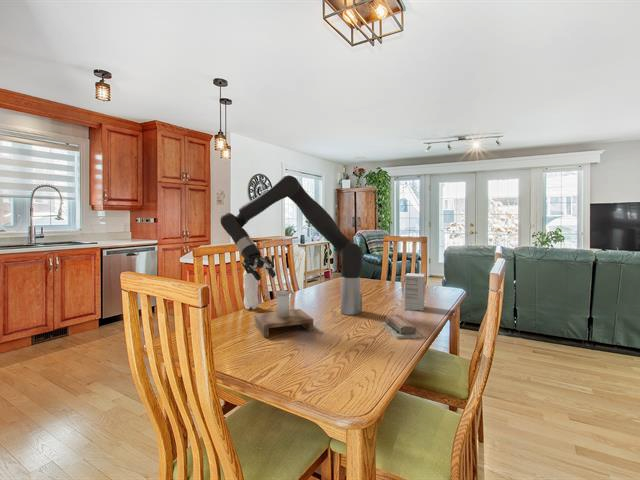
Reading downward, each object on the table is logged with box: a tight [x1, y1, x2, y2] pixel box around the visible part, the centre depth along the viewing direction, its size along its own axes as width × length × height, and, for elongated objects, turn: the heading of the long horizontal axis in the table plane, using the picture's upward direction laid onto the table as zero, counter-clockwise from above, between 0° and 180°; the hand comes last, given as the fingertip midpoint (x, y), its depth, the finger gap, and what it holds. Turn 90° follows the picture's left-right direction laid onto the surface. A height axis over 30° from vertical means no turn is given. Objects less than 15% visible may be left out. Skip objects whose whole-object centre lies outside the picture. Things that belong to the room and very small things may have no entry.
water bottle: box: [242, 265, 259, 310], centre depth 175 cm, size 7×7×25 cm
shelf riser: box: [254, 308, 314, 339], centre depth 144 cm, size 20×16×5 cm
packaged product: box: [381, 314, 422, 340], centre depth 141 cm, size 18×5×10 cm
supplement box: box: [403, 272, 426, 312], centre depth 174 cm, size 10×9×17 cm
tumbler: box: [276, 290, 290, 318], centre depth 144 cm, size 5×5×10 cm
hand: (267, 278), depth 148 cm, fingers open, 8 cm apart
